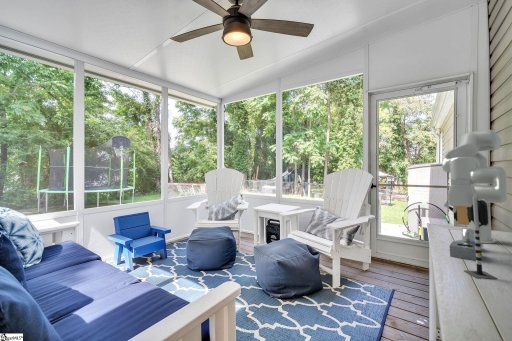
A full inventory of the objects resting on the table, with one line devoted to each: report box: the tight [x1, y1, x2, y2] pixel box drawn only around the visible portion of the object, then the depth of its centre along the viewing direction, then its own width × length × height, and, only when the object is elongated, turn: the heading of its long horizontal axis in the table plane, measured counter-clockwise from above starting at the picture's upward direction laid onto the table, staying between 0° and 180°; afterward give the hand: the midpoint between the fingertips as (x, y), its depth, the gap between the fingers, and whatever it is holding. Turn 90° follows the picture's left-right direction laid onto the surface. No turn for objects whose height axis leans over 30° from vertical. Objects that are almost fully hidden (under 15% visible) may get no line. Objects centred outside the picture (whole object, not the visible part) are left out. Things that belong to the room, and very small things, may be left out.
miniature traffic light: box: [463, 197, 498, 280], centre depth 93 cm, size 8×8×30 cm
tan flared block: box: [455, 206, 470, 226], centre depth 115 cm, size 4×5×9 cm
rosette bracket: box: [449, 227, 484, 261], centre depth 119 cm, size 26×11×10 cm, turn 134°
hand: (463, 221), depth 114 cm, fingers closed on tan flared block, 4 cm apart
